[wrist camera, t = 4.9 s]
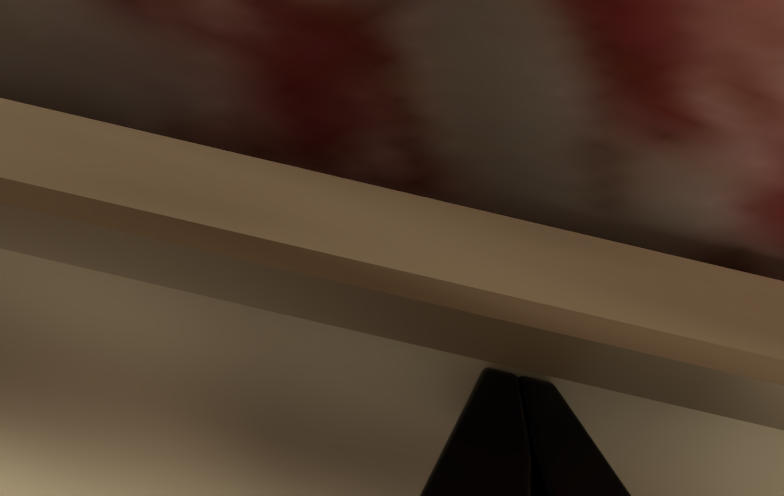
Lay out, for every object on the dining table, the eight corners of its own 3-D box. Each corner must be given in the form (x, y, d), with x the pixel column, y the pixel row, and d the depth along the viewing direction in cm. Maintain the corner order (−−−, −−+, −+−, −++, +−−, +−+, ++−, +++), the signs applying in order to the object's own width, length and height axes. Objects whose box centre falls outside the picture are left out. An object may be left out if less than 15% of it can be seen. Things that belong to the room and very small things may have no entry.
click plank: (814, 651, 13) (855, 770, 12) (-206, 418, 13) (-300, 506, 11) (1178, 373, 8) (1331, 513, 7) (-431, -4, 8) (-645, 52, 7)
